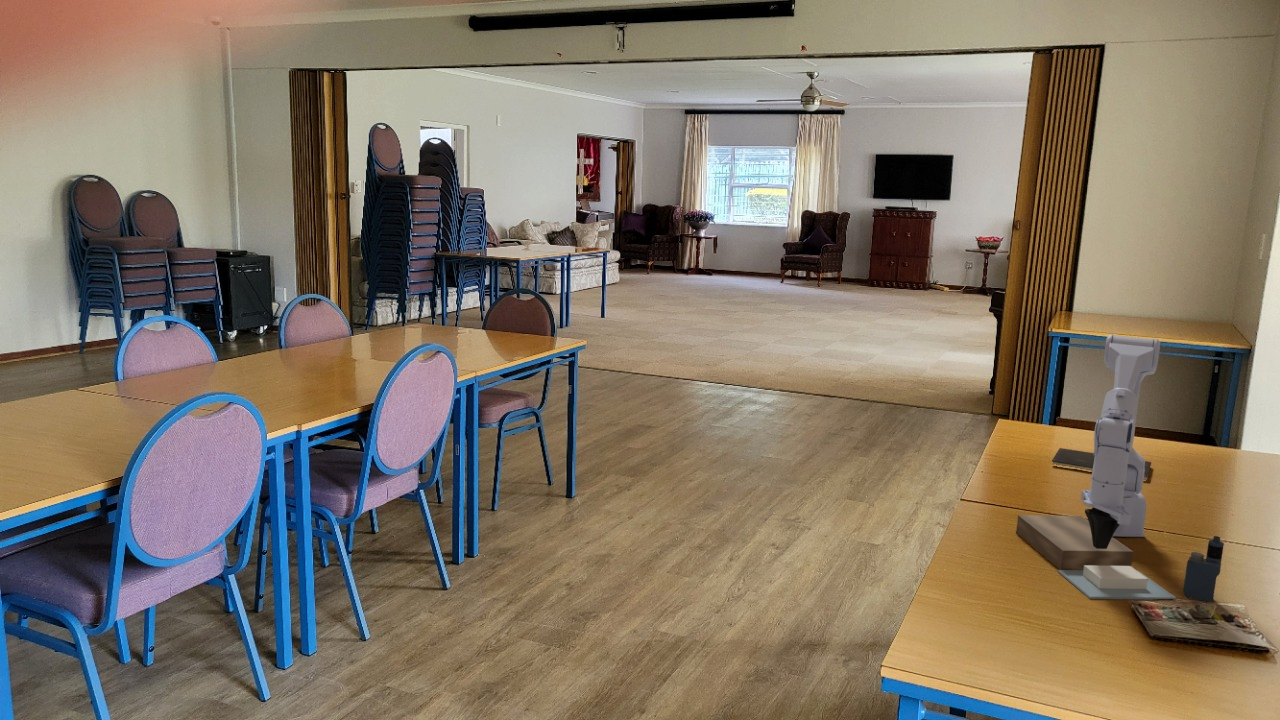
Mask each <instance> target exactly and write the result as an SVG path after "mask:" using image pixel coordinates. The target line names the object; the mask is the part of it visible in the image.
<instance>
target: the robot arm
mask: <svg viewBox="0 0 1280 720" xmlns="http://www.w3.org/2000/svg"><path fill="white" fill-rule="evenodd" d="M1105 340H1106V341H1105V346H1104V352H1103V353H1104V355H1103V362H1104V364H1105V365H1104V366H1106V368H1107V370H1109V371H1112V372H1114V377H1113V378H1114V379H1113V389H1110V390H1108V391H1107V392H1106V394H1105V396H1104V400H1103V405H1102V408H1101V413H1100V414H1101V415H1100V418H1099V419H1098V418H1097V419H1096V421H1095V422H1096V423H1095V426H1094V432H1093V433H1094V434H1093V447H1094V448H1093V453H1094V455H1095V457H1094V464H1093V470H1092V473H1091V479H1090V482H1091V483H1090V489H1081V495H1080V500H1081V501H1083V503H1082V505H1084V506H1086V507H1088V508H1086V509H1084V514H1085V516H1086V519H1087V520H1088V521H1089V524H1090V528H1091V534H1092V541H1093V546H1094V547H1095V548H1097V549H1107V547H1108V545H1109V543H1110V540H1111V538H1112V537H1113V538H1114V537H1119V538H1120V537H1125V538H1126V537H1127V538H1128V537H1130V538H1145V537H1146V534H1145V533H1144V530H1145V523H1146V522H1145V521H1146V515H1147V501H1146V498H1145V496H1144V495H1143V494H1142V490H1143V485H1144V481H1143V480H1144V472H1145V468H1144V466H1145V461H1146V460H1145V459H1144V456H1142V455H1141V454H1140V453H1139V452H1138V451H1136V450H1135V448H1133V446H1134V440H1135V431H1136V422H1137V416H1138V406H1139V400H1140V390H1141V384H1142V382H1143V380H1144V378H1145V377H1146V376H1150V375H1154V374H1155V373H1156V372H1157V368H1158V363H1159V357H1160V348H1161V341H1160V340H1159V339H1158V338H1146V337H1136V336H1135V337H1133V336H1123V335H1114V334H1112V333H1111V334H1109V335H1108V336H1107V337H1106V339H1105ZM1089 507H1090V508H1089Z"/></svg>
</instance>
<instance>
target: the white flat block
mask: <svg viewBox="0 0 1280 720" xmlns="http://www.w3.org/2000/svg"><path fill="white" fill-rule="evenodd" d="M1138 571H1139V570H1137V569H1135V568H1134V567H1133V566H1095V565H1084V570H1083V576H1084V577H1086V578H1087V579H1088V580H1089V581H1091V582H1092V583H1093V584H1094V585H1095V586H1097V587H1098V588H1104V589H1147V582H1148V578H1149V577H1148V578H1146V577H1145V576H1146V575H1145V576H1143V575H1142V574H1143V573H1142V572H1141V573H1142V574H1141V573H1139V572H1138Z"/></svg>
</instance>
